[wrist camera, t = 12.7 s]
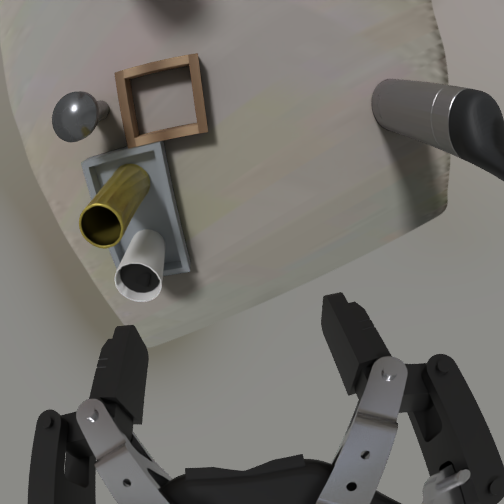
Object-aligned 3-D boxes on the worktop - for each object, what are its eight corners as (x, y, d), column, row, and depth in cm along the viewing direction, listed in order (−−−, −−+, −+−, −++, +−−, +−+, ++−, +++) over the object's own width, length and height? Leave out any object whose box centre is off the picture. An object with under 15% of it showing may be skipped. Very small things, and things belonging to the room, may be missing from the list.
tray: (162, 138, 36) (159, 141, 34) (190, 261, 47) (190, 271, 45) (88, 158, 35) (81, 162, 33) (125, 272, 46) (122, 282, 44)
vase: (143, 207, 40) (121, 259, 28) (107, 195, 38) (71, 242, 26) (155, 170, 38) (134, 209, 26) (117, 158, 36) (79, 191, 24)
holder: (198, 56, 31) (197, 53, 28) (207, 129, 37) (208, 131, 34) (120, 73, 30) (114, 72, 27) (133, 144, 36) (128, 148, 33)
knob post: (115, 85, 31) (91, 84, 23) (121, 124, 34) (100, 133, 26) (78, 98, 30) (48, 102, 22) (85, 135, 33) (57, 148, 26)
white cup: (171, 231, 43) (165, 268, 35) (164, 265, 46) (158, 306, 38) (131, 222, 41) (115, 257, 33) (127, 258, 44) (113, 296, 36)
